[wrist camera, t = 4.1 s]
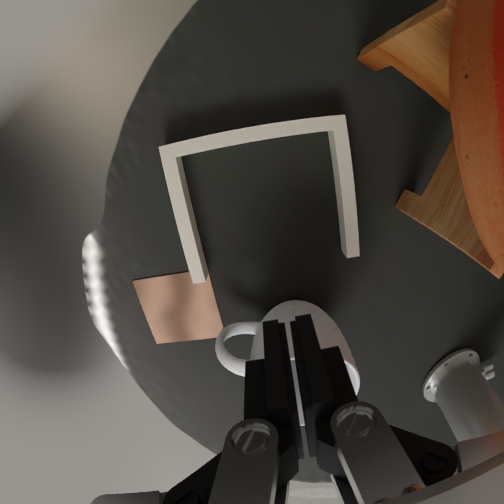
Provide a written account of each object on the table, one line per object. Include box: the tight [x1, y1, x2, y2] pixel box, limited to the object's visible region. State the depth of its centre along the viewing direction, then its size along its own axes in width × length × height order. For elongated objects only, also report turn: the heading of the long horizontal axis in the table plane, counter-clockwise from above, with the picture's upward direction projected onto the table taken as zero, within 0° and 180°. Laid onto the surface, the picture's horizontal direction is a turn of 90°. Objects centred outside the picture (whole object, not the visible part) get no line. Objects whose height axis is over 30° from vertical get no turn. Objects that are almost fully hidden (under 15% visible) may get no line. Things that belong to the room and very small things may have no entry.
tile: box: [133, 272, 223, 344], centre depth 39 cm, size 10×10×1 cm
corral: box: [159, 115, 360, 284], centre depth 33 cm, size 19×16×2 cm
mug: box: [215, 300, 360, 426], centre depth 34 cm, size 15×11×13 cm
